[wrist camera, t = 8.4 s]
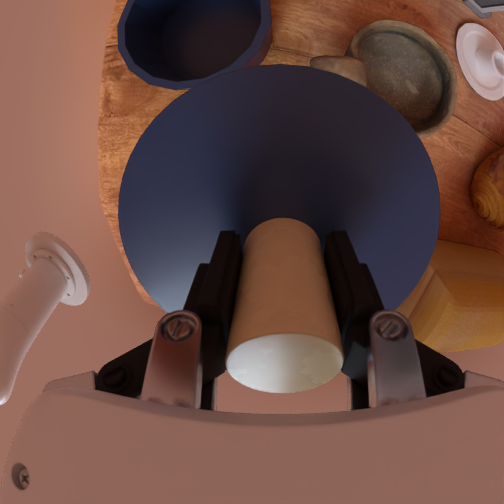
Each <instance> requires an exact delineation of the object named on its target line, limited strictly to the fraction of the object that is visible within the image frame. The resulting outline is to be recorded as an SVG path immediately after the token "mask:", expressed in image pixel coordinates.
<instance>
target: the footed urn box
mask: <svg viewBox="0 0 504 504" xmlns="http://www.w3.org/2000/svg"><path fill="white" fill-rule="evenodd" d="M463 3H465V4H466V5H467V6H468V7H469V8H470V9H471V10H472V11H473V12H474V13H476V14H477V15H478V16H479V17H480V18H482V19H483V18H490V17H491V15H492V12H498V11H504V0H463Z"/></svg>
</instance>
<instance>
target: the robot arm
mask: <svg viewBox="0 0 504 504" xmlns="http://www.w3.org/2000/svg"><path fill="white" fill-rule="evenodd" d="M324 260H325V264H326V268H327V273H328V277H329V282H330V286H331V291H332V295H333V300H334V305H335V309H336V314H337V319H338V325H339V330H340V335H341V341H342V346H343V352H344V363H343V366H342V368H341V371H342V372H343V373H344V374H345V375H347V411H341V412H328V413H313V414H251V413H233V412H221V411H217V377H218V376H219V375H221V374H222V373H224V372H225V370H227V368H226V366H225V356H226V350H227V344H228V338H229V332H230V326H231V320H232V314H233V308H234V302H235V296H236V290H237V284H238V278H239V273H240V267H241V261H242V244H241V235H240V234H236V233H235V230H223V231H220V233H219V236H218V239H217V242H216V245H215V248H214V251H213V254H212V257H211V260H210V263H200V264H199V266H198V268H197V271H196V274H195V277H194V279H193V282H192V285H191V288H190V290H189V293H188V296H187V299H186V302H185V305H184V307H183V310H177V311H173V312H170V313H168V314H166V315H165V316H163V317H162V318H161V320H160V321H159V322H158V324H157V326H156V329H155V333H154V337H153V338H152V339H150V340H149V341H147V342H145V343H143V344H142V345H140V346H138V347H136V348H134V349H132V350H130V351H129V352H127V353H125V354H123V355H121V356H120V357H118V358H116V359H114V360H112V361H110V362H108V363H107V364H106V365H104V366H103V367H102V368H101V370H100V371H99V373H95V372H94V371H91V372H87V373H82V374H78V375H74V376H70V377H65V378H61V379H57V380H53V381H51V382H49V383H48V384H47V385H46V386H45V388H44V390H43V393H42V394H40V395H38V396H37V397H36V398H35V399H34V400H33V402H32V403H31V404H30V405H29V407H28V409H27V410H26V412H25V414H24V416H23V418H22V420H21V422H20V424H19V426H18V429H17V431H16V434H15V436H14V439H13V442H12V445H11V447H10V450H9V454H8V457H7V461H6V465H5V469H4V473H3V477H2V482H1V487H0V504H504V382H503V381H501V380H499V379H495V378H492V377H488V376H484V375H480V374H477V373H474V372H470V371H467V370H466V371H465V372H464V373H462V371H461V369H460V368H459V366H458V365H457V364H456V363H454V362H453V361H451V360H450V359H448V358H446V357H445V356H443V355H441V354H440V353H438V352H436V351H435V350H433V349H431V348H430V347H428V346H426V345H425V344H423V343H421V342H420V341H418V340H416V339H415V338H414V334H413V330H412V326H411V324H410V322H409V320H408V319H407V318H406V317H405V316H404V315H403V314H401V313H399V312H397V311H394V310H388V309H386V310H385V308H384V306H383V303H382V300H381V298H380V295H379V293H378V290H377V287H376V285H375V282H374V280H373V277H372V275H371V272H370V270H369V268H368V266H367V264H366V263H359V261H358V258H357V256H356V253H355V251H354V248H353V246H352V243H351V241H350V239H349V236H348V234H347V232H346V231H345V230H332V231H331V234H326V238H325V247H324ZM31 265H32V266H31V267H30V268H29V269H27V270H20V271H19V277H20V279H19V281H18V282H17V283H16V284H15V285H14V287H13V288H12V289H11V290H10V292H9V293H8V294H7V295H6V296H5V298H4V299H3V300H2V302H1V303H0V405H2V404H4V403H5V402H6V401H7V400H8V399H9V397H10V395H11V392H12V389H13V386H14V382H15V379H16V376H17V373H18V370H19V368H20V365H21V363H22V361H23V359H24V357H25V355H26V353H27V351H28V350H29V348H30V346H31V345H32V343H33V341H34V340H35V338H36V336H37V335H38V333H39V331H40V330H41V328H42V327H43V325H44V324H45V322H46V321H47V319H48V317H49V316H50V315H51V313H52V312H53V310H54V309H55V307H56V306H57V304H58V303H59V302H60V300H61V299H62V298H63V299H67V298H70V297H72V295H73V294H74V293H75V290H76V283H75V280H74V277H73V275H72V273H71V271H70V269H69V268H68V266H67V265H66V264H65V263H64V261H63V260H62V259H61V258H60V257H59V256H57V255H56V254H55V253H53V252H52V251H50V250H47V249H43V248H41V249H37V250H36V251H35V252H34V253H33V255H32V257H31Z"/></svg>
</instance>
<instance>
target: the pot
mask: <svg viewBox="0 0 504 504" xmlns="http://www.w3.org/2000/svg"><path fill="white" fill-rule="evenodd" d="M117 29H118V50H119V52H120V54H121V56H122V57H123V59H124V61H125V63H126V65H127V67H128V69H129V70H130V71H131V72H133V73H134V74H135V75H137V76H138V77H140V78H141V79H142V80H144V81H145V82H146V83H148V84H150V85H154V86H159V87H163V88H168V89H172V90H189V89H192V88H193V87H195V86H196V85H198V84H201V83H203V82H205V81H207V80H209V79H212V78H214V77H216V76H219V75H221V74H224V73H228V72H231V71H235V70H239V69H243V68H247V67H253V66H259V65H260V64H261V63H262V62H263V61H264V58H265V56H266V54H267V52H268V50H269V47H270V45H271V43H272V31H271V10H270V0H128V1H127V3H126V5H125V8H124V10H123V12H122V15H121V17H120V20H119V23H118V26H117Z"/></svg>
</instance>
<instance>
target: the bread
mask: <svg viewBox="0 0 504 504" xmlns="http://www.w3.org/2000/svg"><path fill="white" fill-rule="evenodd" d="M395 311H397V312H399V313H401V314H403V315H404V316H405V317H406V318H407V319H408V320H409V322H410V324H411V326H412V330H413V334H414V338H415V339H416V340H418V341H420V342H421V343H423V344H425V345H426V346H428V347H430V348H431V349H433V350H435V351H436V352H438V353H444V352H453V351H462V350H469V349H476V348H483V347H489V346H494V345H498V344H500V343H501V342H503V341H504V257H503V256H501V255H500V254H499V253H497V252H496V251H493V250H489V249H484V248H480V247H475V246H470V245H465V244H460V243H455V242H450V241H445V240H440V239H437V241H436V245H435V249H434V252H433V255H432V257H431V260H430V262H429V265H428V267H427V269H426V271H425V272H424V274H423V276H422V278H421V280H420V281H419V283H418V284H417V286H416V287H415V288H414V290H413V291H412V292H411V294H410V295H409V296H408V297H407V298H406V300H405V301H404V302H403V303H402V304H401V305H400V306H399V307H398V308H397V309H396V310H395Z"/></svg>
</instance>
